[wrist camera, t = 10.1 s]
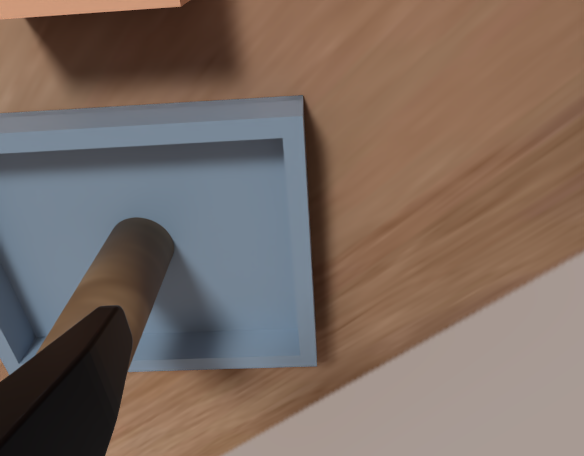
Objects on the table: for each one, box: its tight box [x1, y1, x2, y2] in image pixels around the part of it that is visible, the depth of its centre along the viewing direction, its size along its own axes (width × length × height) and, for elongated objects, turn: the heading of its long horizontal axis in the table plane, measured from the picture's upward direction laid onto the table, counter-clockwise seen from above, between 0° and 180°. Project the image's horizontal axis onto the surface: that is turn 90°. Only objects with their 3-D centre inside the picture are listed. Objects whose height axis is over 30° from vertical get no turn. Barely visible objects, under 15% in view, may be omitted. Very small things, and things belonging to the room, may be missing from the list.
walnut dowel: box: [36, 217, 174, 372], centre depth 19 cm, size 3×3×9 cm
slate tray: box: [0, 95, 317, 375], centre depth 23 cm, size 16×13×2 cm
